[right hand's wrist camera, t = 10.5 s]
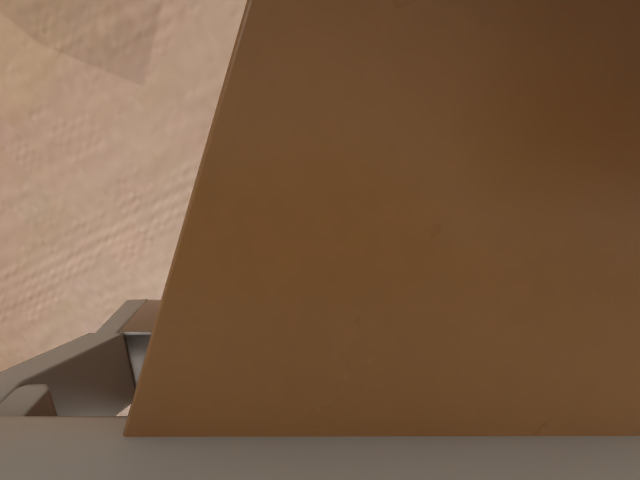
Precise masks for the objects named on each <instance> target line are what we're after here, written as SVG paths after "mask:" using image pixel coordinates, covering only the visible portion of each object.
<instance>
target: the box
mask: <svg viewBox="0 0 640 480" xmlns="http://www.w3.org/2000/svg"><path fill="white" fill-rule="evenodd" d="M123 436H124V437H340V436H640V0H247V3H246V7H245V10H244V14H243V17H242V20H241V24H240V27H239V31H238V34H237V38H236V41H235V45H234V48H233V52H232V55H231V59H230V62H229V66H228V69H227V73H226V76H225V80H224V83H223V87H222V90H221V94H220V97H219V101H218V104H217V107H216V111H215V114H214V118H213V121H212V125H211V128H210V132H209V135H208V139H207V142H206V146H205V149H204V153H203V156H202V160H201V163H200V167H199V170H198V174H197V177H196V181H195V184H194V188H193V191H192V195H191V198H190V201H189V205H188V208H187V212H186V215H185V219H184V222H183V226H182V229H181V233H180V236H179V240H178V243H177V247H176V250H175V254H174V257H173V261H172V264H171V268H170V271H169V275H168V278H167V282H166V285H165V288H164V292H163V295H162V299H161V302H160V306H159V309H158V313H157V316H156V320H155V323H154V327H153V330H152V334H151V337H150V341H149V344H148V348H147V351H146V355H145V358H144V362H143V365H142V369H141V372H140V376H139V379H138V382H137V386H136V389H135V393H134V396H133V400H132V403H131V407H130V410H129V414H128V417H127V421H126V424H125V428H124V431H123Z"/></svg>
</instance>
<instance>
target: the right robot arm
mask: <svg viewBox="0 0 640 480" xmlns="http://www.w3.org/2000/svg"><path fill="white" fill-rule="evenodd" d="M160 302H161V300H148V299H141V300H127V301H126V302H125V303H124V304H123V305H122V306H121V307H120V308H119V309H118V310H117V311H116V312H115V313H114V314H113V315H112V316H111V317H110V318H109V320H108V321H107V322H106V323H105V324H104V325H103V326H102V327H101V328H100V329H99V330H98V331H97V332H96V333H88V334H86V335H84V336H82V337H79V338H77V339H75V340H73V341H70V342H68V343H66V344H63V345H61V346H59V347H57V348H54V349H52V350H50V351H48V352H45V353H43V354H41V355H38V356H36V357H34V358H32V359H29V360H27V361H25V362H23V363H20V364H18V365H16V366H13V367H11V368H9V369H7V370H4V371H2V372H0V480H640V436H340V437H124V436H123V431H124V428H125V424H126V421H127V417H128V416H116V415H117V414H119V413H120V412H121V411H122V410H124V409H125V408H126V407H127V406H129V405H130V404H131V403H132V400H133V396H134V393H135V389H136V386H137V382H138V379H139V376H140V372H141V369H142V365H143V362H144V358H145V355H146V351H147V348H148V344H149V341H150V337H151V334H152V330H153V327H154V323H155V320H156V316H157V313H158V309H159V306H160Z"/></svg>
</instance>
